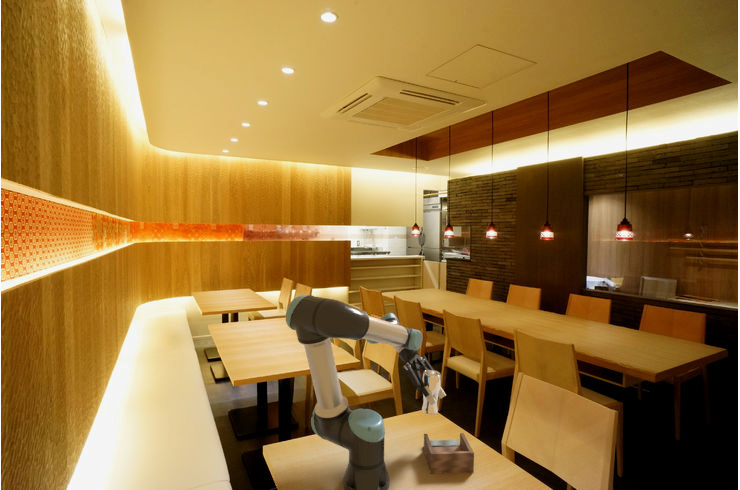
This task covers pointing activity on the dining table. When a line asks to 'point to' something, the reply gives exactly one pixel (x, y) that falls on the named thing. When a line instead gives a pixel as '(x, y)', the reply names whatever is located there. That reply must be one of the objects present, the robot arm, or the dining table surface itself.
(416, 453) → the dining table surface
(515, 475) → the dining table surface
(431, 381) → the beer glass
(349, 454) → the robot arm
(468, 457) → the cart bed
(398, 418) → the dining table surface
